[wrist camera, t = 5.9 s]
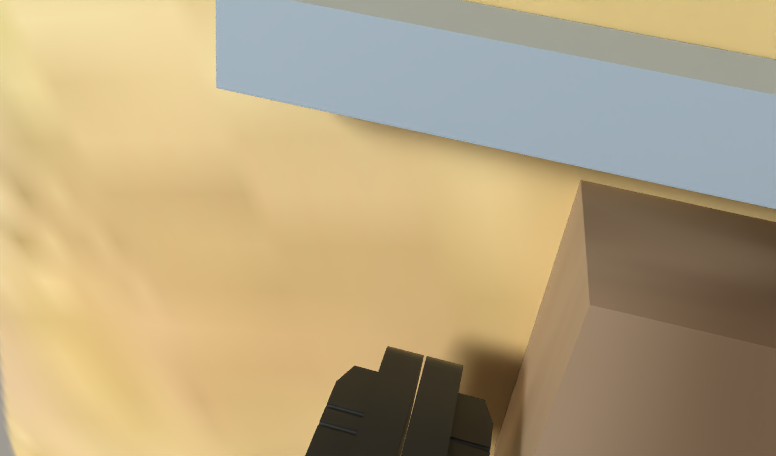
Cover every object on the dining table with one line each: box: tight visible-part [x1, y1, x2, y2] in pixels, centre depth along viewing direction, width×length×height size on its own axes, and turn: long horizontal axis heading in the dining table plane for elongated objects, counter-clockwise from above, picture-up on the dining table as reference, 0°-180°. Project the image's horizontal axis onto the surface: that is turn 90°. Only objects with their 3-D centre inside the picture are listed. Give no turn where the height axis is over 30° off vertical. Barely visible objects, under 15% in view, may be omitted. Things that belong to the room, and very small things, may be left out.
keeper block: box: [494, 180, 776, 456], centre depth 11 cm, size 6×7×4 cm
